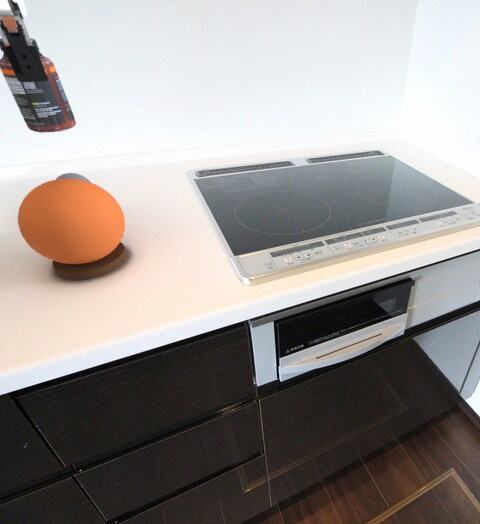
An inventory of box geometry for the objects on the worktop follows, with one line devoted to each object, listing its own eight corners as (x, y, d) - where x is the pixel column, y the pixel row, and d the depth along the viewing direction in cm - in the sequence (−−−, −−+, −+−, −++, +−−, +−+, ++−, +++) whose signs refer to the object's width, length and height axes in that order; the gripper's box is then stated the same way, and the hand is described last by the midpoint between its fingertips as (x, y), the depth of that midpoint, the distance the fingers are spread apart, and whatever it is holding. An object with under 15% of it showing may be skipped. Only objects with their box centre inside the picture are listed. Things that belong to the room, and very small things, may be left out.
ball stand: (47, 297, 52) (-2, 211, 44) (41, 255, 60) (-2, 175, 52) (145, 268, 59) (117, 188, 51) (128, 233, 67) (101, 160, 59)
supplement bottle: (66, 120, 57) (33, 36, 50) (85, 128, 54) (53, 40, 48) (21, 128, 53) (-21, 37, 46) (39, 136, 50) (-3, 41, 44)
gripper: (-83, -103, 43) (-4, 69, 53) (-108, -132, 32) (-3, 91, 42) (-1, -91, 47) (58, 67, 57) (2, -113, 36) (73, 86, 46)
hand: (31, 75), depth 50 cm, fingers closed on supplement bottle, 6 cm apart
